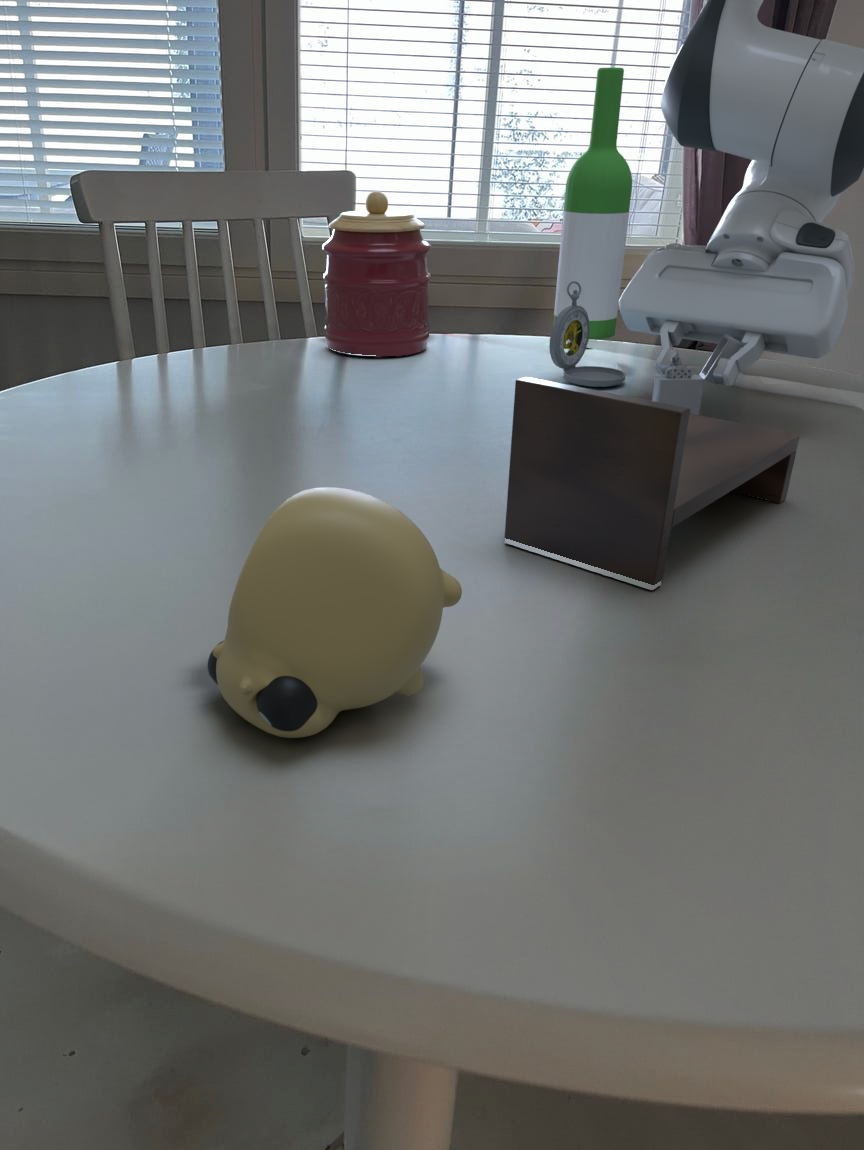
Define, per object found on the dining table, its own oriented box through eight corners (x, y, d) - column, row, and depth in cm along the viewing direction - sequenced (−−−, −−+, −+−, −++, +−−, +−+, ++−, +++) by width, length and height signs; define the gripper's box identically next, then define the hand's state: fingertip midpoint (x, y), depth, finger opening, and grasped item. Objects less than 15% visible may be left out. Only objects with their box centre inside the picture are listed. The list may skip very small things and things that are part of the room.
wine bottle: (565, 352, 115) (593, 66, 100) (542, 339, 121) (564, 69, 107) (624, 349, 116) (659, 67, 102) (597, 337, 123) (627, 70, 108)
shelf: (786, 499, 70) (819, 350, 65) (652, 592, 57) (681, 412, 51) (652, 467, 77) (673, 329, 71) (503, 544, 63) (515, 379, 58)
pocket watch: (626, 391, 98) (639, 291, 93) (545, 387, 100) (554, 288, 95) (622, 373, 105) (634, 279, 101) (547, 370, 107) (555, 276, 102)
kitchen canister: (303, 346, 117) (297, 190, 108) (380, 332, 125) (380, 186, 116) (372, 364, 109) (372, 197, 100) (450, 348, 116) (456, 191, 108)
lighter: (653, 426, 87) (664, 338, 83) (649, 421, 89) (659, 334, 85) (729, 425, 87) (744, 336, 83) (723, 419, 89) (738, 332, 85)
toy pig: (287, 714, 51) (128, 637, 44) (406, 531, 51) (266, 424, 44) (384, 806, 44) (212, 731, 37) (524, 592, 44) (378, 476, 37)
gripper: (647, 219, 91) (583, 338, 89) (868, 236, 79) (798, 373, 77) (662, 264, 96) (601, 377, 94) (871, 286, 84) (806, 416, 82)
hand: (692, 376), depth 86 cm, fingers closed on lighter, 4 cm apart
